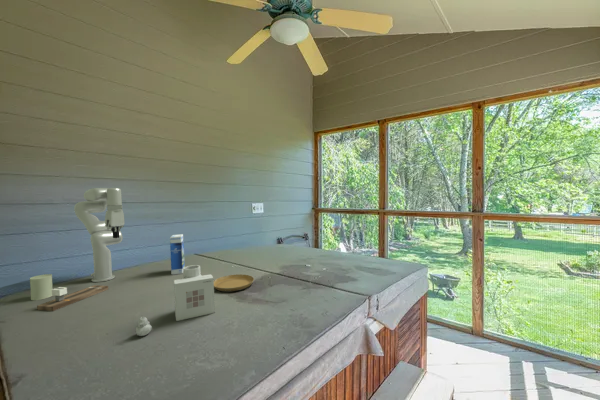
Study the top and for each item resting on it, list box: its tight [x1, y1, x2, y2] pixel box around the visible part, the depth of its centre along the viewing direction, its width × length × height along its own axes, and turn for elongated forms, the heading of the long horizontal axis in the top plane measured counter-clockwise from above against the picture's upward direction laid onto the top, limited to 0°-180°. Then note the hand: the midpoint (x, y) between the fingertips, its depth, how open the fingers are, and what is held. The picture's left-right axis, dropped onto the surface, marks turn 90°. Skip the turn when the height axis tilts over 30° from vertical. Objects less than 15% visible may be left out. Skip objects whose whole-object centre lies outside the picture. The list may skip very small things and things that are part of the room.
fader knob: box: [52, 286, 68, 301], centre depth 142 cm, size 5×4×6 cm
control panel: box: [173, 264, 216, 322], centre depth 131 cm, size 16×19×20 cm
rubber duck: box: [135, 315, 153, 337], centre depth 109 cm, size 5×7×8 cm
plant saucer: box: [214, 273, 255, 293], centre depth 164 cm, size 24×24×3 cm
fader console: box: [36, 284, 109, 312], centre depth 150 cm, size 10×30×2 cm, turn 168°
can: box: [29, 273, 54, 301], centre depth 153 cm, size 9×9×12 cm
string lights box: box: [169, 233, 186, 275], centre depth 196 cm, size 13×8×26 cm, turn 17°
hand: (116, 237), depth 170 cm, fingers closed
